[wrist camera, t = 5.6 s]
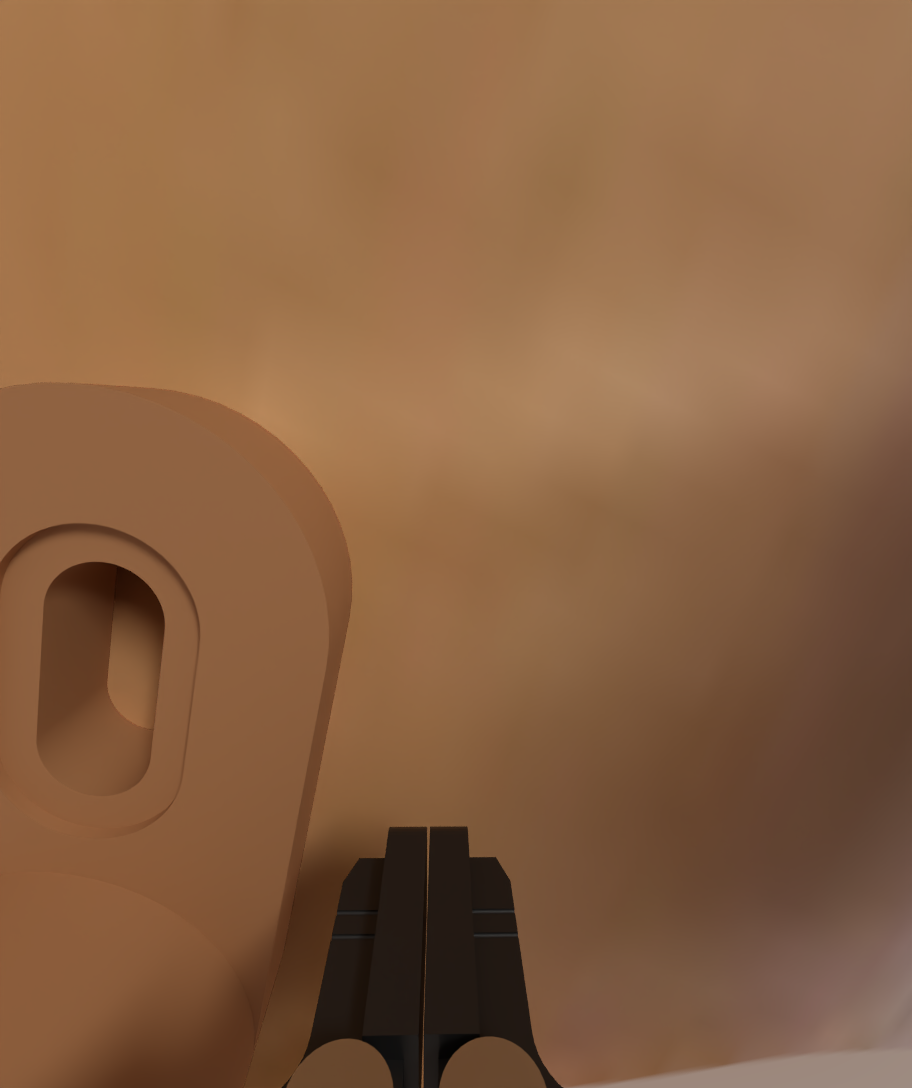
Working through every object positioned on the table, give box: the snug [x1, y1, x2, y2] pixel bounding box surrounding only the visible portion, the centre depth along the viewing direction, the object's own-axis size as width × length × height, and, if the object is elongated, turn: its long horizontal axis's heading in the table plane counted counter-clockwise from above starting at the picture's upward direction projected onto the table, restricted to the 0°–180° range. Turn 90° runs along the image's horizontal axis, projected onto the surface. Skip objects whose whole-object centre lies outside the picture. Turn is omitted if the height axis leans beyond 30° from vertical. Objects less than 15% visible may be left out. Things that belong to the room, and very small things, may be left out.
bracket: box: [0, 383, 352, 1088], centre depth 10 cm, size 18×8×7 cm, turn 167°
